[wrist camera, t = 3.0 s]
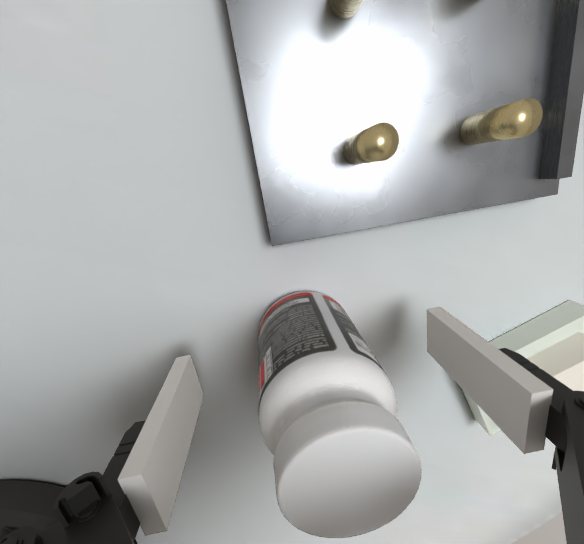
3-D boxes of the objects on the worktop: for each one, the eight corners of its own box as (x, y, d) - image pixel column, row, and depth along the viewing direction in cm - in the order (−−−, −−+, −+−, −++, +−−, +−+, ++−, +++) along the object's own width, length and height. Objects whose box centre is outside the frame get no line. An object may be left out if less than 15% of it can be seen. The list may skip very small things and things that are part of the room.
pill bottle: (253, 365, 19) (247, 552, 9) (263, 283, 17) (267, 411, 8) (339, 370, 20) (411, 547, 10) (356, 292, 18) (461, 417, 9)
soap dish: (474, 418, 22) (510, 459, 19) (450, 362, 20) (485, 396, 17) (584, 362, 22) (640, 395, 18) (569, 299, 20) (629, 323, 17)
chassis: (271, 241, 16) (274, 261, 12) (209, -89, 12) (183, -222, 8) (537, 193, 17) (621, 197, 13) (573, -134, 13) (715, -275, 9)
